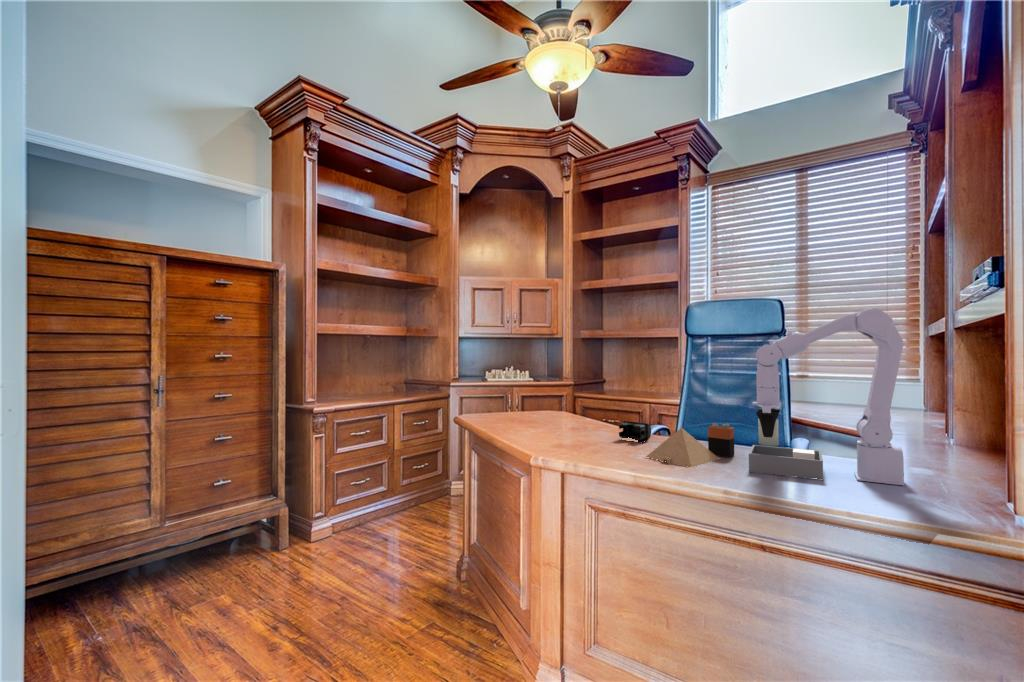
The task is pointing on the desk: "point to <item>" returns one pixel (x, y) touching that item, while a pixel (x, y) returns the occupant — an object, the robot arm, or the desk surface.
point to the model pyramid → (683, 450)
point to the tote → (784, 462)
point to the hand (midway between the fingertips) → (768, 435)
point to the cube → (803, 454)
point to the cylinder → (768, 440)
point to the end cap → (635, 431)
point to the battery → (721, 440)
